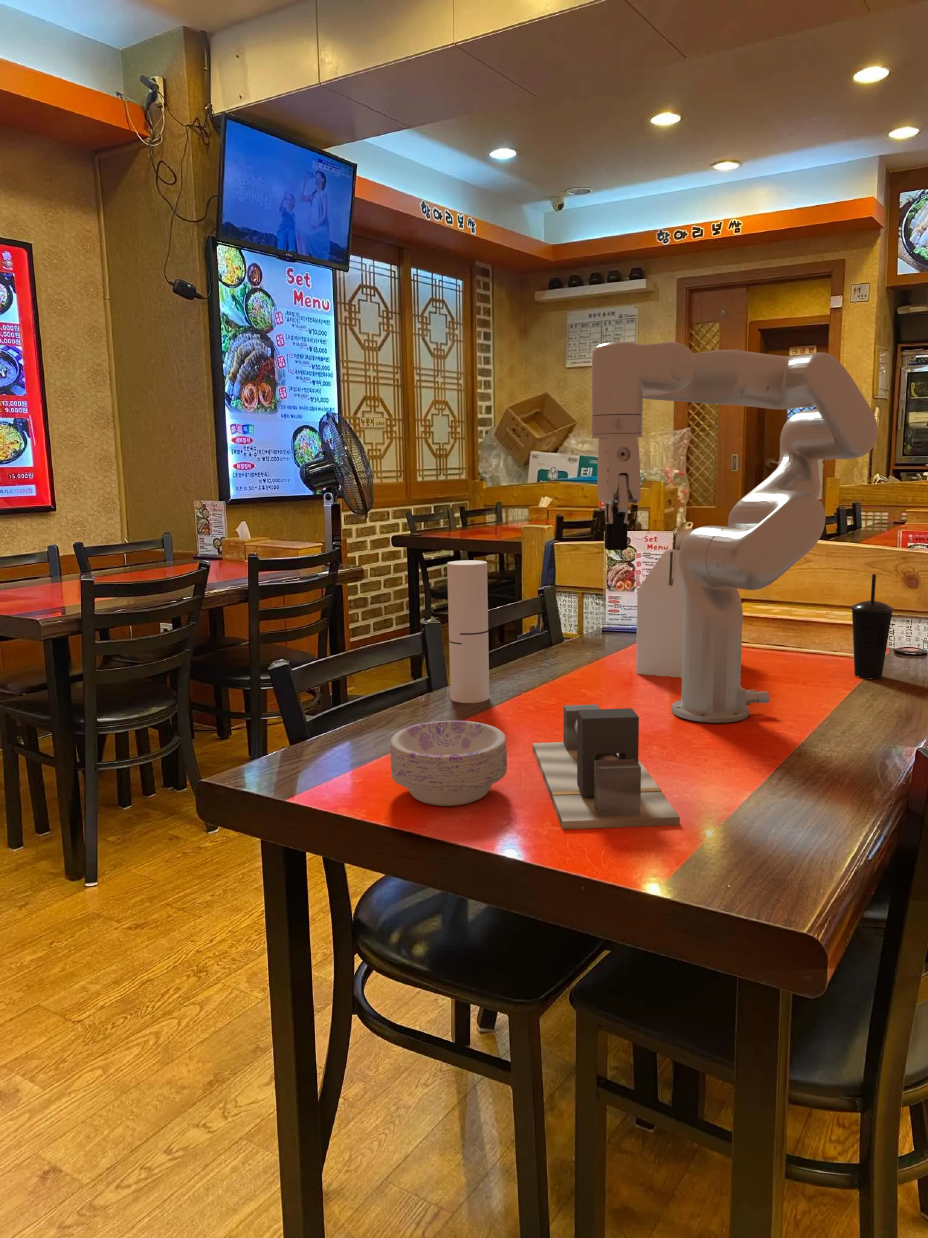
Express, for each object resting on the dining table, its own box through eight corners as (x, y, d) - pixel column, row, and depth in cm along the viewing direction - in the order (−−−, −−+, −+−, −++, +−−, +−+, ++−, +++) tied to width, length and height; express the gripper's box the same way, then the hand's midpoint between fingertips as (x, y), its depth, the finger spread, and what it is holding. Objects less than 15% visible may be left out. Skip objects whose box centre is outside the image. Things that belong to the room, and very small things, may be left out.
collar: (577, 784, 118) (577, 710, 116) (630, 782, 118) (631, 708, 116) (582, 795, 114) (582, 718, 112) (637, 793, 114) (638, 717, 113)
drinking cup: (892, 674, 178) (898, 573, 175) (886, 682, 172) (893, 577, 169) (850, 670, 182) (856, 571, 179) (843, 678, 176) (849, 575, 173)
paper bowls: (415, 824, 110) (413, 761, 109) (376, 784, 124) (374, 728, 123) (527, 803, 116) (527, 743, 115) (478, 767, 130) (477, 714, 128)
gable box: (702, 680, 177) (706, 536, 172) (635, 674, 183) (637, 535, 178) (722, 657, 197) (725, 527, 192) (661, 652, 202) (663, 526, 198)
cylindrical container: (485, 703, 163) (483, 564, 159) (446, 702, 165) (443, 564, 160) (492, 693, 170) (490, 560, 166) (454, 692, 172) (451, 560, 167)
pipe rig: (532, 749, 137) (532, 704, 136) (625, 746, 138) (625, 701, 136) (562, 829, 108) (562, 772, 106) (679, 825, 108) (680, 768, 107)
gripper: (653, 425, 130) (651, 554, 133) (630, 429, 145) (629, 544, 148) (601, 426, 130) (600, 555, 133) (583, 430, 145) (583, 545, 148)
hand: (615, 549), depth 140 cm, fingers closed
